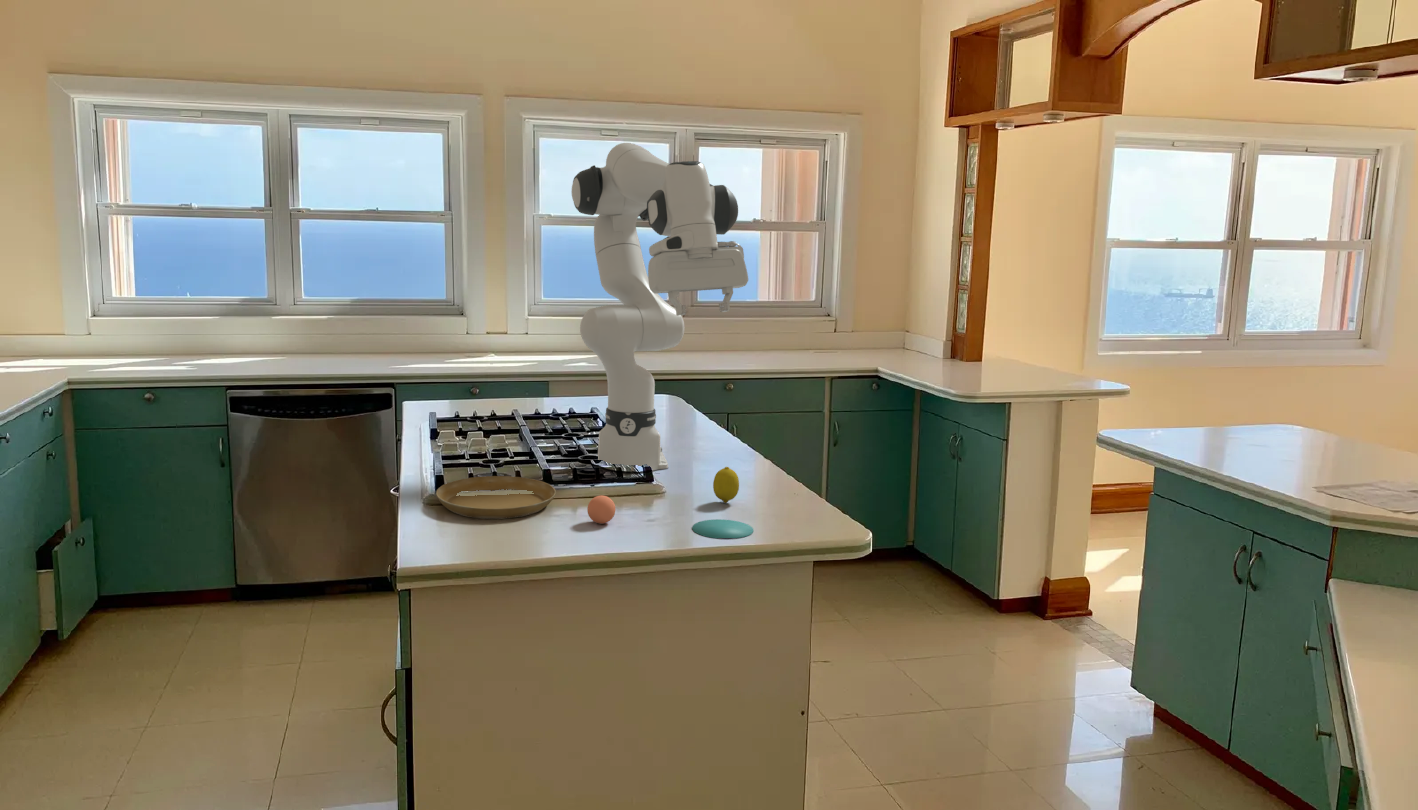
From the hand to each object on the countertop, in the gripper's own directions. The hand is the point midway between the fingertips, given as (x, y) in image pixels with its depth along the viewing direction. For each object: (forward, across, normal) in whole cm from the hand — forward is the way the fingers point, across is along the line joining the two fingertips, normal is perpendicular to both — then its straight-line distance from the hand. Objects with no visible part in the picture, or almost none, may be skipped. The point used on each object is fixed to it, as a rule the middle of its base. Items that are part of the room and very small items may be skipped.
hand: (703, 313), depth 200 cm
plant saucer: (+33, +38, -31) cm, 59 cm away
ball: (+36, +22, -12) cm, 43 cm away
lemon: (+39, -8, -18) cm, 44 cm away
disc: (+42, +1, -2) cm, 42 cm away
